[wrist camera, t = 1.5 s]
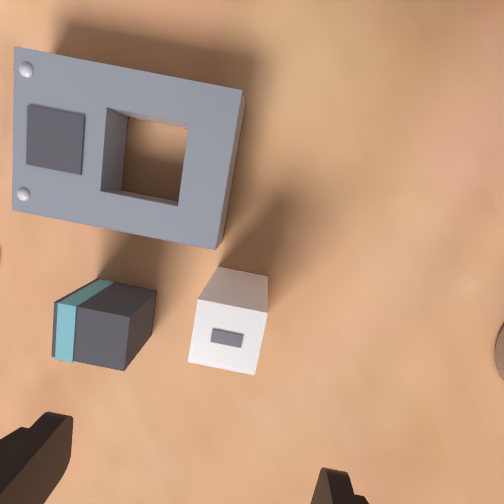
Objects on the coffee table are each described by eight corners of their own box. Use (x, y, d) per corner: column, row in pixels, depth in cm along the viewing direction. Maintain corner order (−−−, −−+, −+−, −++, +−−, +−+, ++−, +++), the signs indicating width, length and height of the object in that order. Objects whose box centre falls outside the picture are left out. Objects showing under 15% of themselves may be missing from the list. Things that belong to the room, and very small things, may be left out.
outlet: (245, 102, 21) (242, 89, 18) (221, 241, 24) (214, 250, 20) (48, 64, 21) (12, 45, 18) (43, 206, 24) (10, 210, 21)
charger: (268, 276, 24) (268, 313, 17) (258, 322, 25) (254, 375, 18) (217, 266, 24) (197, 299, 17) (209, 313, 25) (187, 362, 18)
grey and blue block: (157, 290, 25) (129, 317, 20) (151, 336, 26) (123, 372, 21) (96, 278, 25) (53, 302, 20) (92, 324, 26) (50, 358, 21)
